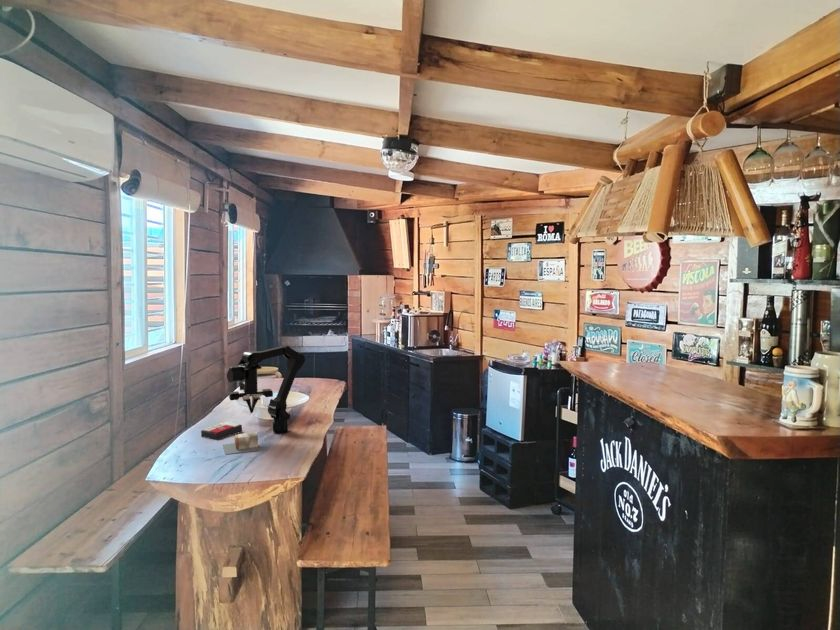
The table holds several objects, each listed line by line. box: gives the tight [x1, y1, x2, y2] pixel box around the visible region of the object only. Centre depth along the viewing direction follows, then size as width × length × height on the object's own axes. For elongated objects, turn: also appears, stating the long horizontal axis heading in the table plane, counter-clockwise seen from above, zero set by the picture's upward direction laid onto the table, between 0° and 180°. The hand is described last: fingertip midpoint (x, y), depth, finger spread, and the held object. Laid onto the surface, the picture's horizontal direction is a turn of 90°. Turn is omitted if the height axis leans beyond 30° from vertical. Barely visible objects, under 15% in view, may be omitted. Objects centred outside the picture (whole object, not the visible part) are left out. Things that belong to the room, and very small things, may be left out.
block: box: [234, 432, 259, 449], centre depth 233 cm, size 5×5×9 cm
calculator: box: [200, 421, 243, 440], centre depth 252 cm, size 11×4×15 cm
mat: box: [222, 442, 259, 455], centre depth 232 cm, size 13×14×1 cm
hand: (251, 412), depth 244 cm, fingers closed
